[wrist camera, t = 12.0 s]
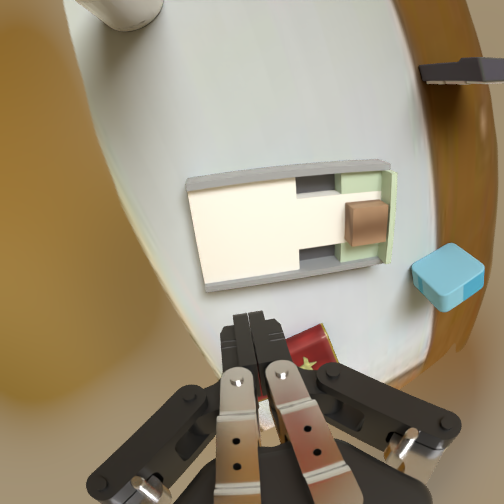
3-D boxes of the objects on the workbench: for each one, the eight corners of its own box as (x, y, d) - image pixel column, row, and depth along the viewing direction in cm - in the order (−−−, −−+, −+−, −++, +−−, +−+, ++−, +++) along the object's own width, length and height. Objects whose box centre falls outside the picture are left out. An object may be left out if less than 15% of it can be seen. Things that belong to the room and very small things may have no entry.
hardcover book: (225, 361, 60) (226, 376, 56) (321, 320, 58) (327, 334, 54) (249, 391, 65) (251, 405, 61) (335, 356, 63) (341, 369, 60)
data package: (410, 282, 57) (442, 315, 46) (408, 265, 55) (442, 298, 44) (452, 257, 56) (486, 285, 45) (451, 240, 54) (487, 267, 43)
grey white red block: (422, 85, 40) (485, 87, 26) (416, 62, 38) (478, 57, 24) (462, 81, 39) (521, 85, 26) (457, 60, 37) (515, 59, 24)
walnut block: (345, 202, 44) (353, 208, 41) (378, 199, 45) (388, 205, 42) (344, 238, 47) (352, 246, 44) (376, 234, 47) (385, 241, 45)
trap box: (187, 178, 43) (184, 187, 37) (377, 159, 45) (397, 166, 39) (206, 279, 50) (205, 299, 45) (373, 252, 52) (389, 268, 47)
